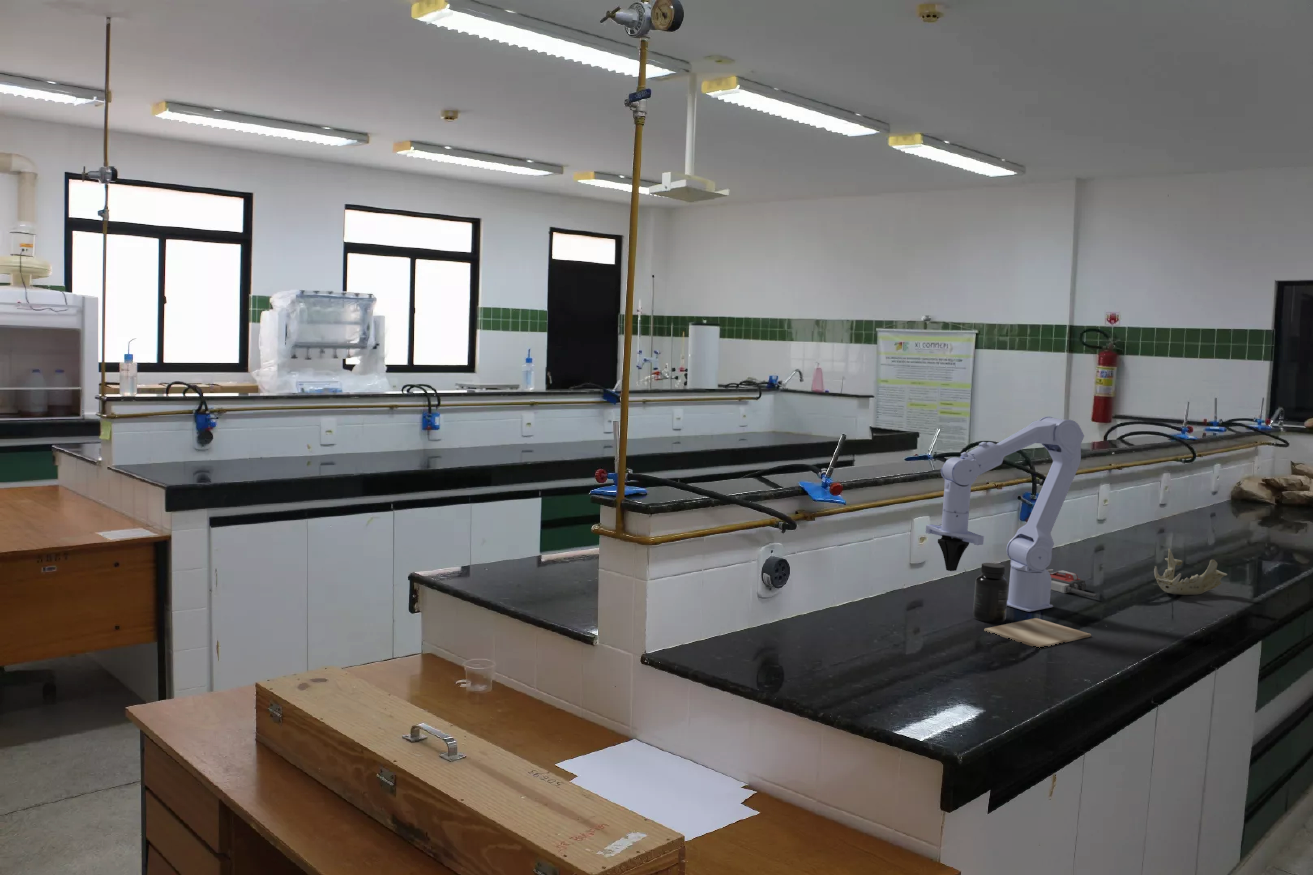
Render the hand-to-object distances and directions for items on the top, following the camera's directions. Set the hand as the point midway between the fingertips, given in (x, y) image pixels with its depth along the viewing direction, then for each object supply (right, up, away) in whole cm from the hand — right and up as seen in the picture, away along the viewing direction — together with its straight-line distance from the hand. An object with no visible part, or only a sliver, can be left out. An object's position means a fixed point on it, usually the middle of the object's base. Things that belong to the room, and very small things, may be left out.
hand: (951, 570), depth 224 cm
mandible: (+65, -9, +25) cm, 70 cm away
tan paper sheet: (+13, -11, -18) cm, 24 cm away
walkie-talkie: (+36, -8, +23) cm, 43 cm away
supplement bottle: (+6, -10, -8) cm, 14 cm away
